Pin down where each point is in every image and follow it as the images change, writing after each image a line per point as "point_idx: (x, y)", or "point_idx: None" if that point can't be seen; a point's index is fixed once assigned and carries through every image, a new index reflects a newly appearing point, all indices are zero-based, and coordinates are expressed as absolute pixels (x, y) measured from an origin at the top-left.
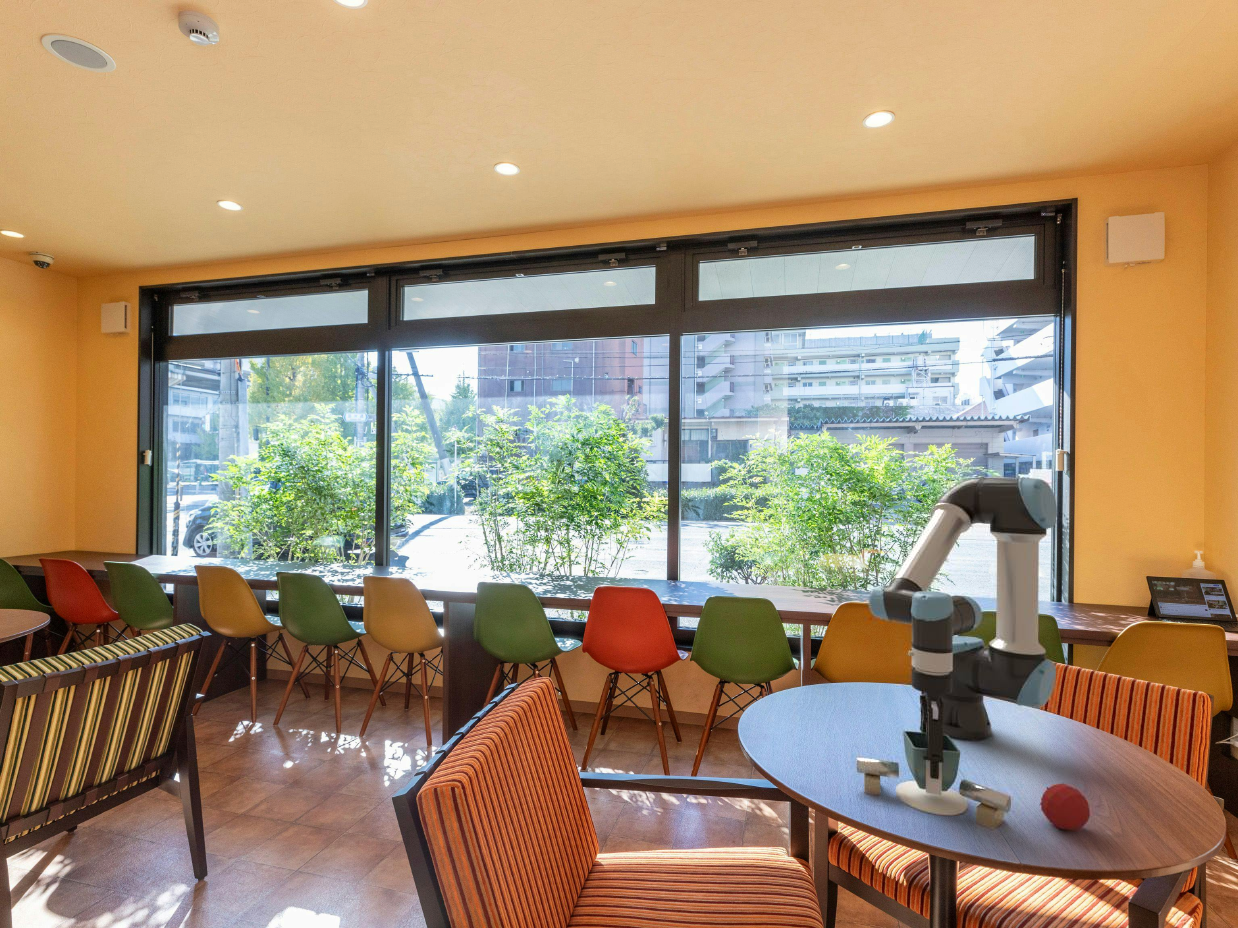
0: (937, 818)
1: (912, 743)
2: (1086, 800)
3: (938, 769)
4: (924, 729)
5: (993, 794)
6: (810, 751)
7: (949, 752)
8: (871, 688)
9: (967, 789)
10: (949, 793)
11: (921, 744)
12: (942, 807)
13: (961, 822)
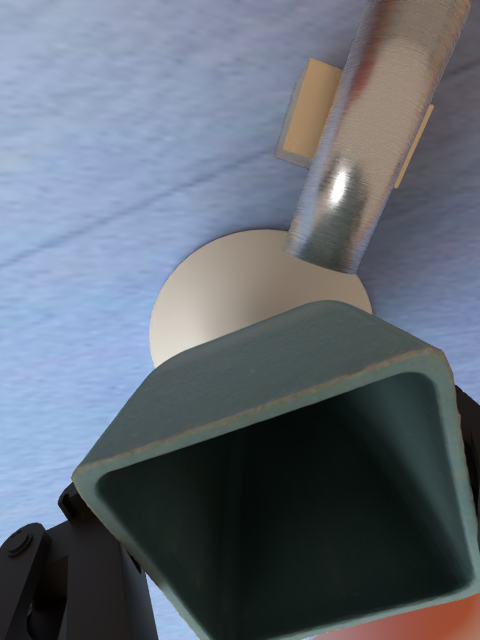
0: (394, 307)
1: (211, 545)
2: None
3: (471, 400)
4: (150, 611)
5: (426, 90)
6: (169, 605)
7: (456, 416)
8: None
9: (371, 236)
10: (200, 296)
11: (193, 514)
12: None
13: (388, 236)
